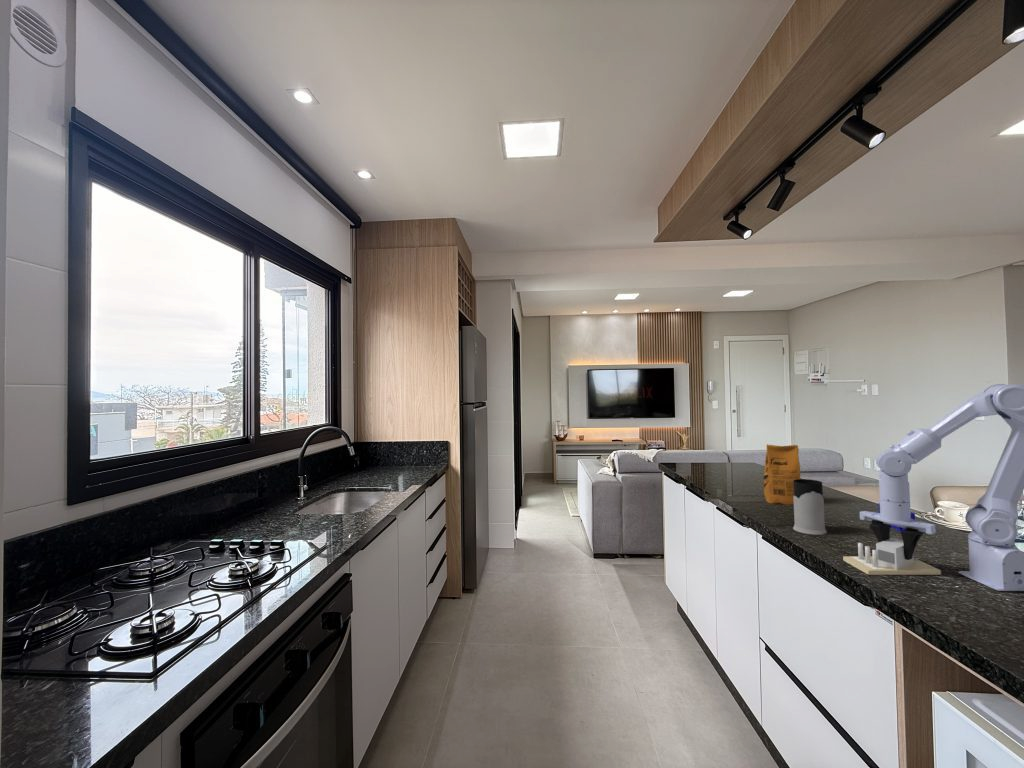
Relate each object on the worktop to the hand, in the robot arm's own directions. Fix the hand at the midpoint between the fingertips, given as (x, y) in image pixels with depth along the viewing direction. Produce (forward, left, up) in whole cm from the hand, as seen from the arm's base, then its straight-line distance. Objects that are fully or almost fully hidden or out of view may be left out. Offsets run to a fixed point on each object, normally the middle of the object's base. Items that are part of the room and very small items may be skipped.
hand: (896, 555), depth 110 cm
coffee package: (+64, -5, -3) cm, 64 cm away
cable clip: (+31, -22, -3) cm, 39 cm away
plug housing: (+1, -2, -2) cm, 3 cm away
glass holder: (+32, +4, -3) cm, 32 cm away
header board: (0, +2, -3) cm, 3 cm away
